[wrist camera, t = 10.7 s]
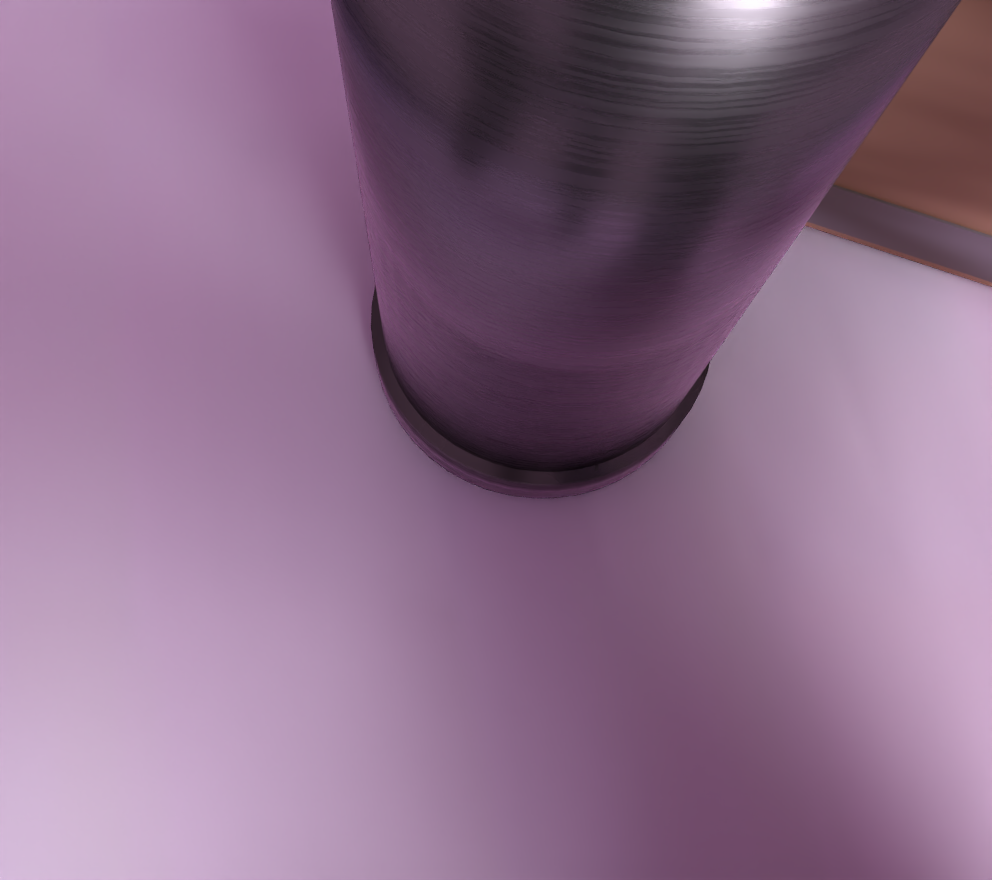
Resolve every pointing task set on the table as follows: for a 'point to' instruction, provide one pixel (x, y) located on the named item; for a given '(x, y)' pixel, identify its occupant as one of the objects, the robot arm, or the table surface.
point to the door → (928, 159)
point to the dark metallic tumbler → (591, 204)
